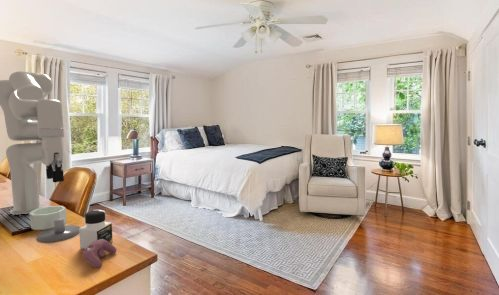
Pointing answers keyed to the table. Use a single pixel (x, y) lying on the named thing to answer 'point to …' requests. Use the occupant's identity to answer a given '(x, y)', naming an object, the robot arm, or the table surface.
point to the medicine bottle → (95, 228)
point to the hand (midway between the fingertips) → (55, 179)
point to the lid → (59, 232)
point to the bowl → (46, 217)
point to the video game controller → (99, 248)
